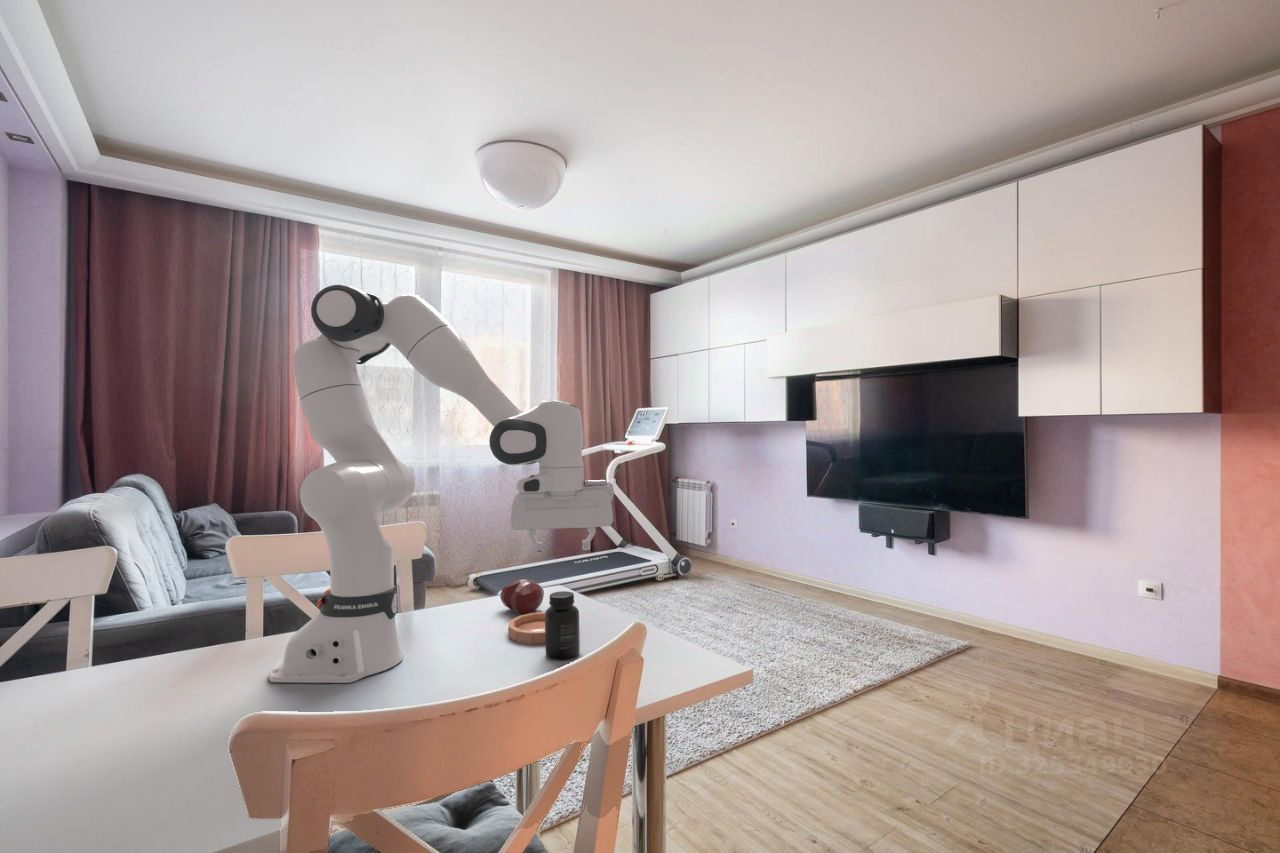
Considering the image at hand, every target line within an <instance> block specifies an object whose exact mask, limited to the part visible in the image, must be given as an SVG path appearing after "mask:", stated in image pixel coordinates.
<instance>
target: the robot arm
mask: <svg viewBox="0 0 1280 853" xmlns="http://www.w3.org/2000/svg"><path fill="white" fill-rule="evenodd" d="M310 314H311V317H312V321H313V324H314V326H315V327H316V328H317V330H318V331H319V333H320V335H319V336H318V337H317V338H316V339H315V338H314V339H311V340H308V341H306V342H304V343H301V344H300V345H299V346H298V347H297V348H296V350H295V351H294V353H293V358H292V360H293V362H292V363H293V372H294V379H295V384H296V388H297V389H296V390H297V392H298V396H299V400H300V404H301V406H302V410H303V412H304V415H305V420H306V423H307V424H308V426H307V427H308V428H309V432H310V435H311V437H312V440H313V441H314V442H315V443H316V444H317V445H318V446H320V447H321V448H323V449H325V450H326V452H328V453H329V455H330V456H331V457H332V458H333V459H334V461H335V462H332V463H330V464H328V465H325V466H322V467H319V468H317V469H315V470H312V472H310V473H308V474H307V476H306V477H304V478H305V479H304V480H303V481H302V484H301V487H300V493H299V496H300V497H299V498H300V503H301V506H302V509H303V511H304V512H305V513H306V514H307V516H309V517H310V518H312V519H313V520H314V521H315V522H316V523H317V525H318V526H319V528H320V529H321V531H322V533H323V536H324V538H325V541H326V542H325V543H326V545H327V549H328V553H329V571H330V572H329V573H330V575H329V576H330V581H329V582H330V587H328V589H327V590H325V591H324V592H323V595H322V596H320V597H319V599H318V601H316V602H317V605H316V608H319V611H320V612H319V613H317V615H315V616H314V617H313V618H311V619H310V620H309V621H307V622H306V623H305V624H304V625H302V627H300V628H299V629H298V630H297V631H296V632H294V633H293V635H292V636H291V637H290V638H289V640H288V642H287V644H286V647H285V651H284V656H283V658H281V659H280V660H279V661H277V662H276V663H275V664H274V665H273V667H272V668H271V669H270V670H269V675H268V676H269V677H268V679H269V681H270V683H297V684H299V683H301V684H302V683H303V684H304V683H311V684H312V683H313V684H314V683H315V684H317V683H319V684H321V683H322V684H328V683H329V684H330V683H331V684H348V683H354V682H356V681H358V680H361V679H362V678H365V677H368V676H370V675H374V674H379V673H380V672H384V671H386V670H389V669H391V668H392V667H395V666H396V665H398V664H399V663H400V662H401V661H402V660H403V658H404V654H403V652H402V649H401V645H400V642H399V637H398V631H397V623H396V615H397V609H398V596H397V595H398V594H397V586H396V585H395V584H394V581H395V580H394V577H395V576H394V575H395V574H394V573H395V572H394V571H395V570H394V567H395V566H394V548H393V545H392V543H391V542H390V541H389V540H387V539H386V538H385V537H384V535H383V533H382V530H381V527H380V524H379V518H378V516H379V515H380V514H385V513H389V512H392V511H394V510H396V509H397V508H399V507H400V506H402V505H403V504H405V503H406V502H409V500H410V499H411V497H412V496H413V494H414V490H415V485H416V484H415V476H414V474H413V472H412V470H411V469H410V468H409V467H408V466H407V465H406V464H404V463H403V462H401V460H399V459H398V457H397V456H396V455H395V454H394V453H393V451H392V450H391V448H390V447H389V445H388V444H387V442H386V441H385V439H384V438H383V436H382V434H381V433H380V431H379V429H378V427H377V425H376V423H375V421H374V418H373V415H372V413H371V409H370V407H369V404H368V400H367V398H366V396H365V395H366V394H365V392H364V389H363V386H362V383H361V381H360V378H359V374H358V368H357V365H363V364H366V363H367V362H369V361H370V360H371V359H373V358H375V357H377V356H379V355H381V354H383V353H384V352H386V351H387V350H388V349H389V348H390V346H394V348H395V349H397V350H398V351H399V352H400V353H401V355H402V356H403V357H404V358H405V359H406V360H407V362H408V363H409V364H410V365H411V366H412V367H413V368H414V369H415V370H416V371H417V372H418V373H419V374H420V375H422V376H423V377H424V378H425V379H426V380H428V381H429V382H430V383H432V384H433V385H435V386H437V387H440V388H442V389H444V390H447V391H449V392H451V393H453V394H456V395H458V396H459V397H461V398H463V399H465V400H466V401H468V402H469V403H470V404H471V405H473V406H474V408H476V409H477V410H478V412H479V413H480V414H481V415H482V416H483V417H484V418H485V419H486V420H487V422H489V423H490V425H492V427H493V428H492V431H491V433H490V435H489V440H488V441H489V447H490V451H491V453H492V455H493V456H494V458H495V459H497V460H498V461H500V462H501V463H502V464H506V465H509V466H522V465H534V464H537V463H538V467H539V468H538V473H536V474H531V475H530V476H527V477H524V478H521V479H519V480H518V481H517V483H516V489H517V491H518V492H517V493H516V494H515V496H514V498H513V501H512V504H511V505H512V506H511V512H510V527H511V528H512V530H514V531H528V536H529V537H530V539H531V541H532V542H533V544H534V553H543V541H538V539H537V537H536V535H537V530H555V529H576V528H580V529H581V528H587V532H588V533H589V534H588V536H587V537H586V539H582V541H581V542H582V550H583V551H590V550H591V542H592V540H593V538H594V536H595V535H596V532H597V531H596V528H598V527H599V528H602V527H604V528H605V527H611V525H612V524H613V522H614V512H613V505H612V501H613V499H614V495H615V494H614V493H615V490H614V489H615V488H614V486H613V484H612V483H611V482H608V481H607V480H605V479H599V480H590V479H589V480H588V479H587V480H586V479H585V477H584V476H585V474H584V473H585V472H584V471H585V468H584V466H585V465H584V461H583V457H582V451H583V447H584V427H583V426H584V425H583V419H582V414H581V410H580V409H579V408H578V407H577V405H575V404H574V403H572V402H566V401H562V400H556V399H543V400H542V401H541V402H540V403H539V404H536V405H535V407H533V408H530V409H529V410H527V411H525V412H522V411H521V410H520V409H519V408H518V407H517V406H516V405H515V404H514V403H513V402H512V401H511V400H510V399H509V397H507V396H506V394H505V393H504V392H502V390H501V389H500V388H499V387H498V386H497V385H496V384H495V383H494V381H492V380H491V378H490V377H489V376H488V374H487V373H486V372H485V370H484V369H483V367H482V366H481V364H480V362H479V361H478V360H477V359H476V357H475V355H474V354H473V352H472V351H471V349H470V347H469V346H468V344H467V343H466V342H465V340H464V339H463V338H462V336H461V335H460V334H459V332H458V330H456V329H455V328H454V327H453V325H452V324H451V323H450V322H449V321H448V320H447V319H446V318H445V317H444V316H443V315H442V314H441V313H440V312H439V311H437V310H436V309H435V308H434V307H433V306H432V305H430V304H429V303H428V302H427V301H426V300H424V299H423V298H421V297H420V296H419V295H416V294H413V293H411V294H410V293H406V294H405V293H404V294H401V295H398V296H397V297H395V298H393V299H391V300H390V301H388V302H382V300H381V298H380V297H379V296H378V295H375V294H372V293H369V292H367V291H364V290H362V289H360V288H356V287H353V286H349V285H344V284H334V285H333V284H331V285H329V286H328V285H327V286H326V287H324V288H323V289H321V290H320V291H319V292H318V293H317V294H316V295H315V296H314V298H313V300H312V302H311V306H310Z"/></svg>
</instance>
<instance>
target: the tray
mask: <svg viewBox="0 0 1280 853" xmlns="http://www.w3.org/2000/svg"><path fill="white" fill-rule="evenodd" d="M545 612H546V611H542V612H539V611H537V612H533V613H530V614H525V615H521V614H520V615H518V616H516V617H514V618H512V619H510V620H509V621H508V628H507V630H508V631H507V632H508V633H507V638H509V637H510V638H509V639H511V640H513V641H515V642H516V643H522V644H530V645H538V644H545Z"/></svg>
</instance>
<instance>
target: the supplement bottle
mask: <svg viewBox="0 0 1280 853" xmlns="http://www.w3.org/2000/svg"><path fill="white" fill-rule="evenodd" d="M574 597H575V593H574V592H572V591H566V590H564V591H563V590H562V591H555V592H551V593H550V594H549V602H548V603H549V605H550V606H549V607H548V608H546V610H545V611H544V612H545V643H544V644H545V646H544V647H545V655H546V657H547V658H548V659H550V660H551V659H552V660H555V661H565V660H566V661H567V660H571V659H573V658H576V657H577V656H579V654H580V651H581V646H580V644H581V642H580V641H581V640H580V639H581V638H580V636H581V634H580V633H581V632H580V611H579V609H578V607H577V606H575V605H574V604H575V598H574Z"/></svg>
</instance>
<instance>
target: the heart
mask: <svg viewBox="0 0 1280 853" xmlns="http://www.w3.org/2000/svg"><path fill="white" fill-rule="evenodd" d="M544 596H545V591H544V589H543V587H542V586H541V585H540V584H539V583H538V582H536V581H534V580H530V579H525V578H520V579H517V580H515V581H512V582H511V583H509V584H507V585H506V586H504V587H503V588H502V590H501V592H500V597H499V598H500V600H501V603H502V604H503V605H504V607H506V608H508V609H509V610H513V611H515V613H517V614H518V615H520V616H521V615H525V614H530V613H535V612H536V611H537V610H538V609H539V608H540V607H541V605H542V604H543V600H544Z"/></svg>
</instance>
